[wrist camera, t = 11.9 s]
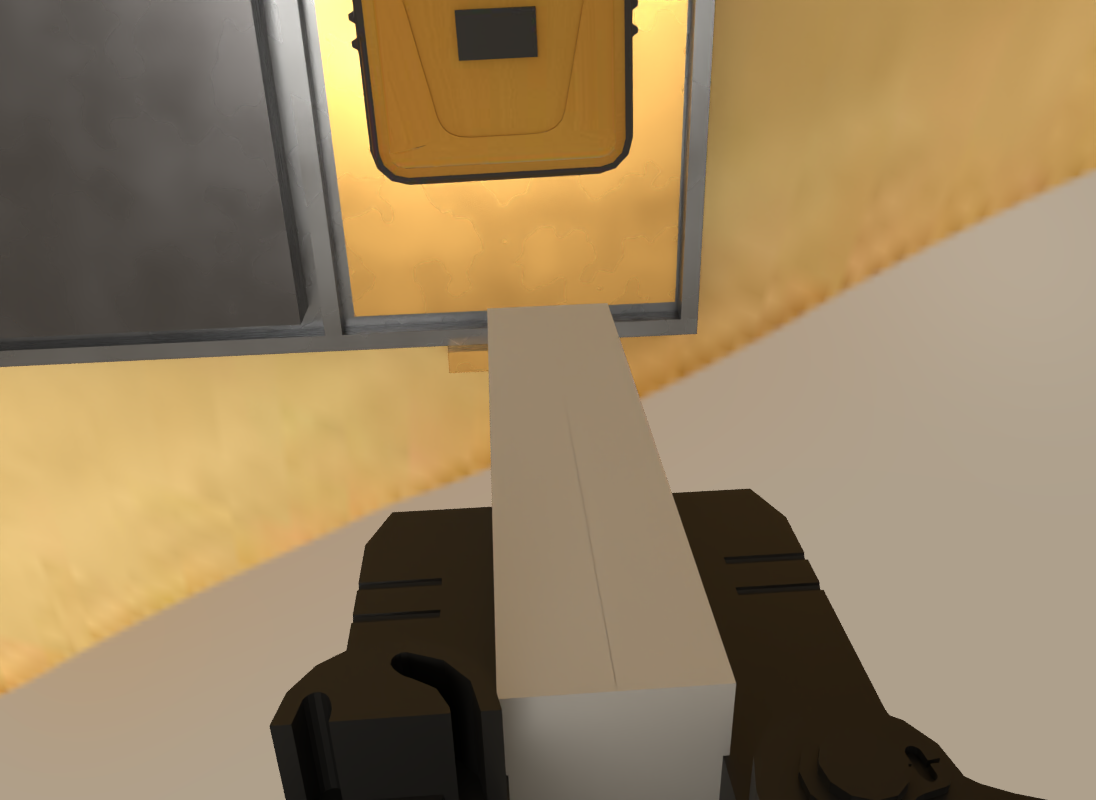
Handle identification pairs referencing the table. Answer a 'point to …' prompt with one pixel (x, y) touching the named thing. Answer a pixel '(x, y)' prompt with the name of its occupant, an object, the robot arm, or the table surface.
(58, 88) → the grey flat frame
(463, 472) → the table surface
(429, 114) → the electronic device
